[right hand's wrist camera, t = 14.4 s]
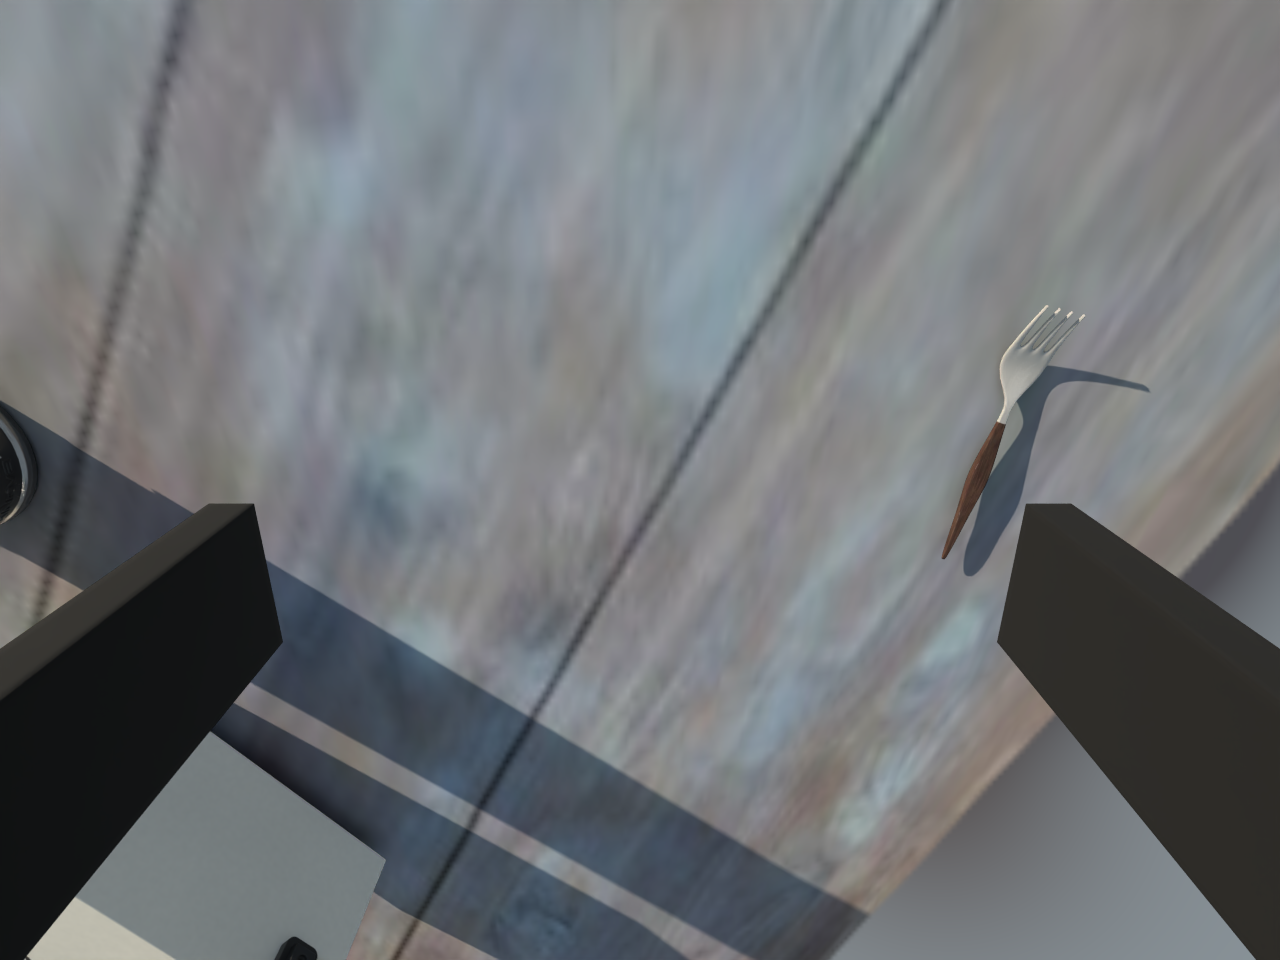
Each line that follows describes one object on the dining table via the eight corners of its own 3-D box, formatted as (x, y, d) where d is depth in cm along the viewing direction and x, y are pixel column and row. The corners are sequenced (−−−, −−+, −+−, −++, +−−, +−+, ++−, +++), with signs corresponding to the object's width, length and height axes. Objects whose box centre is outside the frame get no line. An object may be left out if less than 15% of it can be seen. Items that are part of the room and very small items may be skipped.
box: (23, 681, 48) (-182, 834, 36) (71, 629, 47) (-126, 771, 35) (336, 898, 55) (250, 1088, 43) (386, 859, 53) (311, 1044, 41)
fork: (920, 550, 45) (932, 565, 44) (1025, 299, 40) (1044, 304, 38) (958, 559, 46) (972, 574, 44) (1068, 310, 40) (1089, 315, 38)
